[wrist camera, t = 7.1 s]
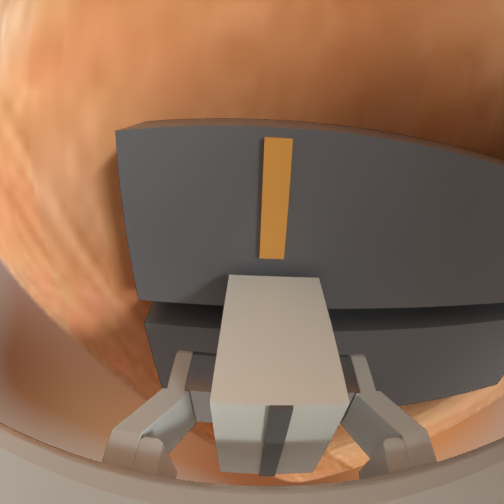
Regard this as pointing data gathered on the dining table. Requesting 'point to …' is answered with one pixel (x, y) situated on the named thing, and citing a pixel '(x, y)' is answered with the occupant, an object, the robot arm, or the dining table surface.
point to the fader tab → (275, 377)
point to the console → (323, 241)
